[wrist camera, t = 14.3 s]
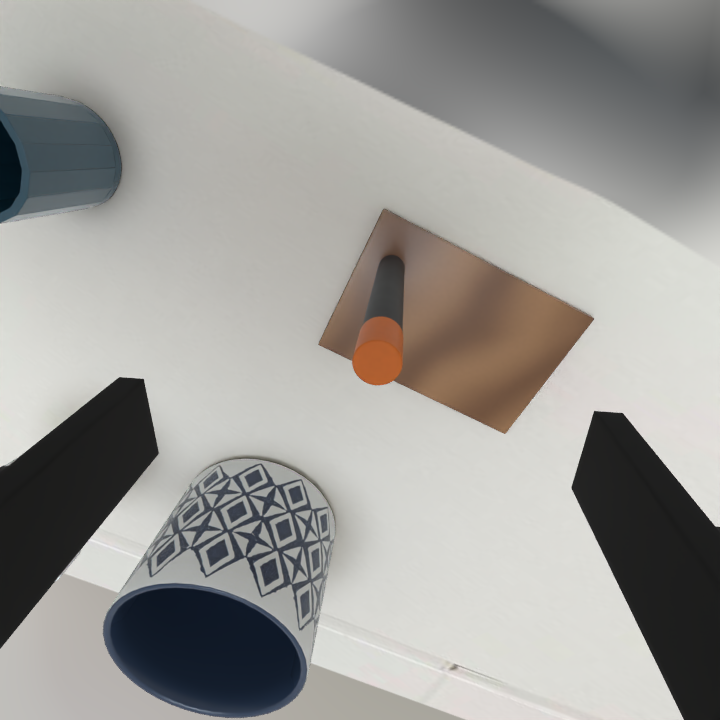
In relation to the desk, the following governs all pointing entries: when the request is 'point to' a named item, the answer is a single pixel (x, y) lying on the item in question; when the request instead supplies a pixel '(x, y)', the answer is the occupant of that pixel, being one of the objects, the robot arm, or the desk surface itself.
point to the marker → (382, 326)
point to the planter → (228, 593)
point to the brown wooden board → (460, 324)
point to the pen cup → (53, 156)
